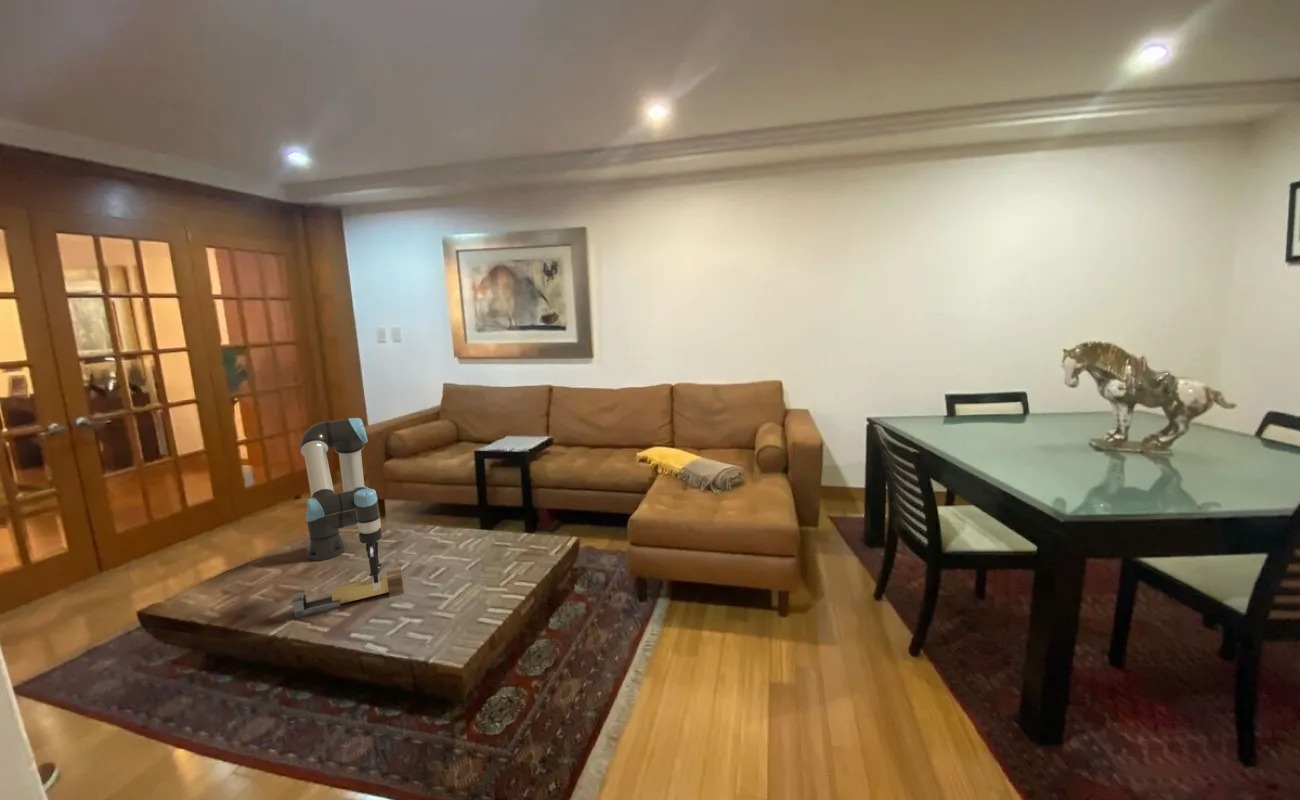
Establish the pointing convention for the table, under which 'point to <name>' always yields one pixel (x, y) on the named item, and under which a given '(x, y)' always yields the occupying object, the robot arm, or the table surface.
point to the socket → (395, 581)
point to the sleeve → (312, 605)
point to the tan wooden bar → (358, 590)
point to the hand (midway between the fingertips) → (377, 586)
